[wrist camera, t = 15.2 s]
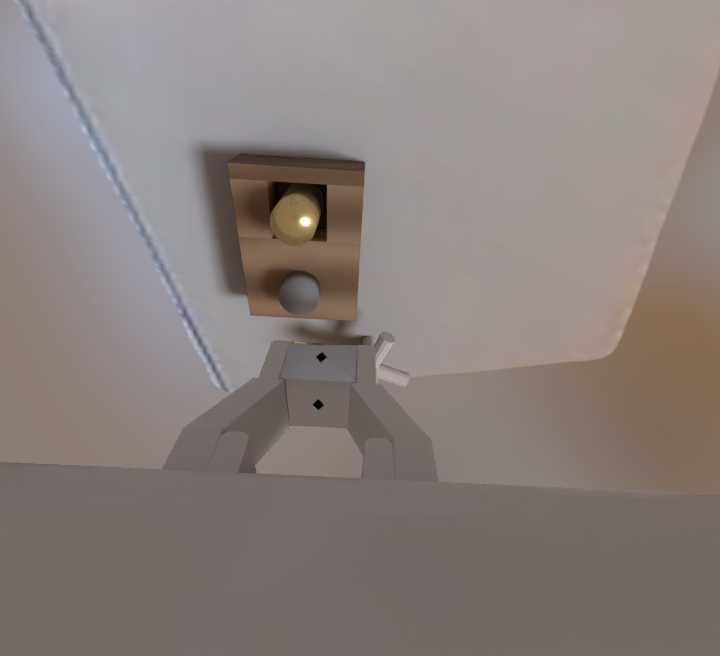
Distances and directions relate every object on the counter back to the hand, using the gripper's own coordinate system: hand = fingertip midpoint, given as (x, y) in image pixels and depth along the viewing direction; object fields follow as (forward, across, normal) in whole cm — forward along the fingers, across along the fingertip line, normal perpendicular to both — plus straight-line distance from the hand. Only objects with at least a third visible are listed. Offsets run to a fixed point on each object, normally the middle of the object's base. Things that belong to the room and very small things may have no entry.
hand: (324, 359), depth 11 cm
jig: (+29, +5, +8) cm, 31 cm away
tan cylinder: (+29, +5, +4) cm, 30 cm away
